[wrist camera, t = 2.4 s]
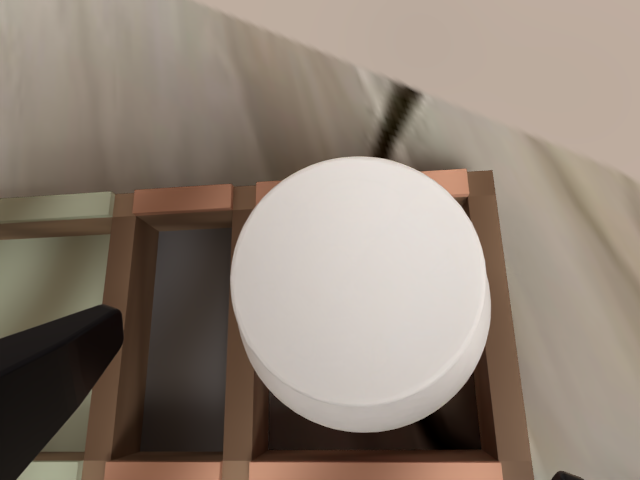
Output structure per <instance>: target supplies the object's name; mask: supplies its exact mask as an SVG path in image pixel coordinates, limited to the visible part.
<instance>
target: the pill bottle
mask: <svg viewBox="0 0 640 480" xmlns="http://www.w3.org/2000/svg"><path fill="white" fill-rule="evenodd" d="M230 289H231V299H232V305H233V309H234V313H235V317H236V320H237V323H238V327H239V332H240V336H241V339H242V342H243V345H244V348H245V351H246V353H247V356H248V358H249V360H250V363H251V364H252V366H253V368H254V370H255V371H256V373H257V375H258V376H259V378H260V379H261V380H262V382H263V383H264V384H265V386H266V387H267V388H268V389H269V390H270V391H271V392H272V393H273V395H274V396H275V397H277V398H278V399H279V400H280V401H281V402H282V403H283V404H285V405H286V406H287V407H289V408H290V409H291V410H293V411H294V412H296V413H297V414H299V415H301V416H303V417H304V418H306V419H308V420H310V421H312V422H315V423H317V424H320V425H322V426H325V427H329V428H332V429H337V430H342V431H348V432H362V433H367V432H381V431H388V430H393V429H397V428H400V427H403V426H406V425H410V424H412V423H414V422H417V421H419V420H421V419H423V418H425V417H427V416H428V415H430V414H432V413H433V412H435V411H436V410H438V409H439V408H441V407H442V406H443V405H444V404H446V403H447V402H448V401H449V400H450V399H451V398H452V397H454V396H455V395H456V394H457V393H458V391H459V390H460V389H461V388H462V387H463V386H464V384H465V383H466V382H467V380H468V379H469V377H470V376H471V374H472V373H473V371H474V370H475V368H476V366H477V364H478V362H479V360H480V357H481V355H482V352H483V350H484V347H485V344H486V340H487V336H488V331H489V327H490V319H491V297H490V289H489V282H488V278H487V275H486V266H485V259H484V255H483V250H482V247H481V244H480V241H479V238H478V235H477V233H476V231H475V229H474V226H473V224H472V222H471V221H470V219H469V217H468V216H467V214H466V213H465V211H464V210H463V208H462V207H461V206H460V204H459V203H458V202H457V201H456V200H455V199H454V198H453V197H452V195H451V194H450V193H449V192H448V191H447V190H446V189H444V188H443V187H442V186H441V185H439V184H438V183H437V182H436V181H435V180H433V179H431V178H430V177H428V176H427V175H425V174H423V173H422V172H420V171H418V170H416V169H414V168H411V167H409V166H407V165H404V164H402V163H399V162H395V161H392V160H388V159H383V158H376V157H366V156H352V157H340V158H335V159H330V160H326V161H321V162H318V163H315V164H312V165H310V166H308V167H305V168H303V169H301V170H299V171H297V172H295V173H293V174H292V175H290V176H288V177H287V178H285V179H284V180H283V181H281V182H280V183H279V184H277V185H276V186H275V187H273V188H272V189H271V190H270V191H269V192H268V193H267V194H266V195H265V196H264V197H263V198H262V199H261V200H260V202H259V203H258V204H257V205H256V207H255V208H254V209H253V211H252V212H251V214H250V216H249V217H248V219H247V221H246V222H245V224H244V226H243V228H242V230H241V232H240V235H239V237H238V240H237V243H236V246H235V249H234V254H233V259H232V265H231V274H230Z"/></svg>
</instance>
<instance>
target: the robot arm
mask: <svg viewBox="0 0 640 480" xmlns="http://www.w3.org/2000/svg"><path fill="white" fill-rule="evenodd" d="M123 341H124V330H123V320H122V313H121V311H120V310H119V309H117V308H114V307H111V306H109V305H106V304H100V305H97V306H94V307H91V308H88V309H85V310H82V311H79V312H76V313H73V314H70V315H67V316H64V317H62V318H59V319H56V320H53V321H50V322H47V323H44V324H41V325H38V326H35V327H32V328H29V329H26V330H23V331H20V332H17V333H15V334H12V335H9V336H6V337H3V338H0V480H17V478H18V477H19V476H20V475H21V474H22V473H23V471H24V470H25V469H26V468H27V467H28V466H29V464H30V463H31V462H32V461H33V460H34V459H35V458H36V456H37V455H38V454H39V453H40V452H41V451H42V449H43V448H44V447H45V446H46V445H47V444H48V442H49V441H50V440H51V439H52V438H53V437H54V436H55V434H56V433H57V432H58V431H59V430H60V429H61V427H62V426H63V425H64V424H65V423H66V422H67V420H68V419H69V418H70V417H71V416H72V415H73V413H74V412H75V411H76V410H77V409H78V407H79V406H80V405H81V403H82V402H83V401H84V399H85V398H86V397H87V395H88V394H89V392H90V391H91V390H92V388H93V387H94V385H95V384H96V382H97V381H98V380H99V378H100V377H101V375H102V374H103V373H104V371H105V370H106V368H107V367H108V365H109V364H110V363H111V361H112V360H113V358H114V357H115V356H116V354H117V353H118V351H119V350H120V348H121V346H122V344H123ZM552 480H584V479H582V478H581V477H578V476H575V475H573V474H570V473H567V472H564V471H559V472H557V473H556V474H555V475H554V477H553V478H552Z"/></svg>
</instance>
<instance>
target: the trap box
mask: <svg viewBox="0 0 640 480" xmlns="http://www.w3.org/2000/svg"><path fill="white" fill-rule="evenodd" d="M422 173H423V174H425V175H427V176H428V177H430V178H431V179H433V180H435V181H436V182H437V183H438V184H439V185H441V186H442V187H443V188H444V189H446V190H447V191H448V192H449V193H450V194H451V195H452V197H453V198H454V199H455V200H456V201H457V202H458V203H459V204H460V206H461V207H462V208H463V210H464V211H465V213H466V214H467V216H468V217H469V219H470V221H471V222H472V224H473V226H474V229H475V231H476V233H477V235H478V238H479V241H480V244H481V247H482V250H483V255H484V259H485V266H486V275H487V278H488V282H489V289H490V297H491V319H490V327H489V331H488V336H487V340H486V344H485V347H484V350H483V352H482V355H481V357H480V360H479V362H478V364H477V366H476V368H475V370H474V371H473V373H474V383H475V392H476V401H477V411H478V420H479V429H480V439H481V448H482V450H268V435H269V389H268V388H267V387H266V386H265V384H264V383H263V382H262V380H261V379H260V378H259V376H258V375H257V373H256V371H255V370H254V368H253V366H252V364H251V363H250V360H249V358H248V356H247V353H246V351H245V348H244V345H243V342H242V339H241V336H240V332H239V327H238V323H237V320H236V317H235V313H234V309H233V305H232V299H231V289H230V274H231V265H232V259H233V254H234V249H235V246H236V243H237V240H238V237H239V235H240V232H241V230H242V228H243V226H244V224H245V222H246V221H247V219H248V217H249V216H250V214H251V212H252V211H253V209H254V208H255V207H256V205H257V204H258V203H259V202H260V200H261V199H262V198H263V197H264V196H265V195H266V194H267V193H268V192H269V191H270V190H271V189H272V188H273V187H275V186H276V185H277V184H279V183H280V182H281V181H283V180H281V181H266V182H256V185H253V186H237V187H234V186H233V185H232V184H219V185H203V186H188V187H172V188H156V189H141V190H135V192H134V193H126V194H114V193H113V192H111V191H110V192H94V193H78V194H63V195H47V196H31V197H16V198H0V338H3V337H6V336H9V335H12V334H15V333H17V332H20V331H23V330H26V329H29V328H32V327H35V326H38V325H41V324H44V323H47V322H50V321H53V320H56V319H59V318H62V317H64V316H67V315H70V314H73V313H76V312H79V311H82V310H85V309H88V308H91V307H94V306H97V305H100V304H106V305H109V306H111V307H114V308H117V309H119V310H120V311H121V313H122V320H123V330H124V341H123V344H122V346H121V348H120V350H119V351H118V353H117V354H116V356H115V357H114V358H113V360H112V361H111V363H110V364H109V365H108V367H107V368H106V370H105V371H104V373H103V374H102V375H101V377H100V378H99V380H98V381H97V382H96V384H95V385H94V387H93V388H92V390H91V391H90V392H89V394H88V395H87V397H86V398H85V399H84V401H83V402H82V403H81V405H80V406H79V407H78V409H77V410H76V411H75V412H74V413H73V415H72V416H71V417H70V418H69V419H68V420H67V422H66V423H65V424H64V425H63V426H62V427H61V429H60V430H59V431H58V432H57V433H56V434H55V436H54V437H53V438H52V439H51V440H50V441H49V442H48V444H47V445H46V446H45V447H44V448H43V449H42V451H41V452H40V453H39V454H38V455H37V456H36V458H35V459H34V460H33V461H32V462H31V463H30V464H29V466H28V467H27V468H26V469H25V470H24V471H23V473H22V474H21V475H20V476H19V477H18V478H17V480H534V476H533V468H532V461H531V453H530V446H529V439H528V431H527V424H526V416H525V409H524V402H523V394H522V387H521V379H520V372H519V365H518V357H517V350H516V342H515V335H514V328H513V320H512V313H511V305H510V298H509V290H508V283H507V276H506V268H505V261H504V253H503V246H502V239H501V231H500V224H499V216H498V209H497V202H496V194H495V187H494V179H493V172H492V170H489V171H474V172H467V169H453V170H437V171H422Z"/></svg>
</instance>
